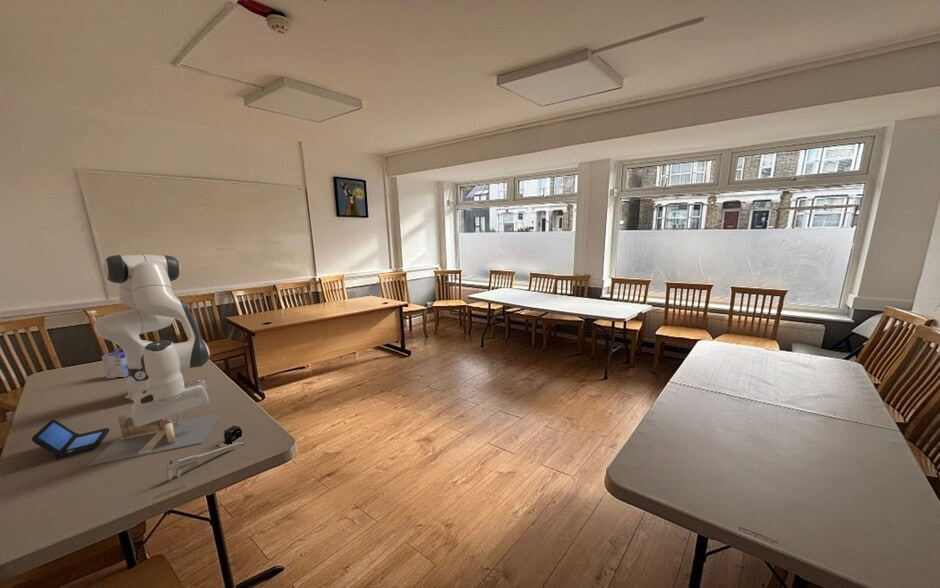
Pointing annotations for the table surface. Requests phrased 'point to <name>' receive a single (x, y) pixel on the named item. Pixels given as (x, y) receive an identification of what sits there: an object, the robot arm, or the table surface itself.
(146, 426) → the fixed fence
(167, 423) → the fence panel
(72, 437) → the handheld game console
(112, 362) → the ink cartridge box
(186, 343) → the robot arm
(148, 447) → the board
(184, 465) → the caliper
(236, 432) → the black angular piece
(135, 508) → the table surface
